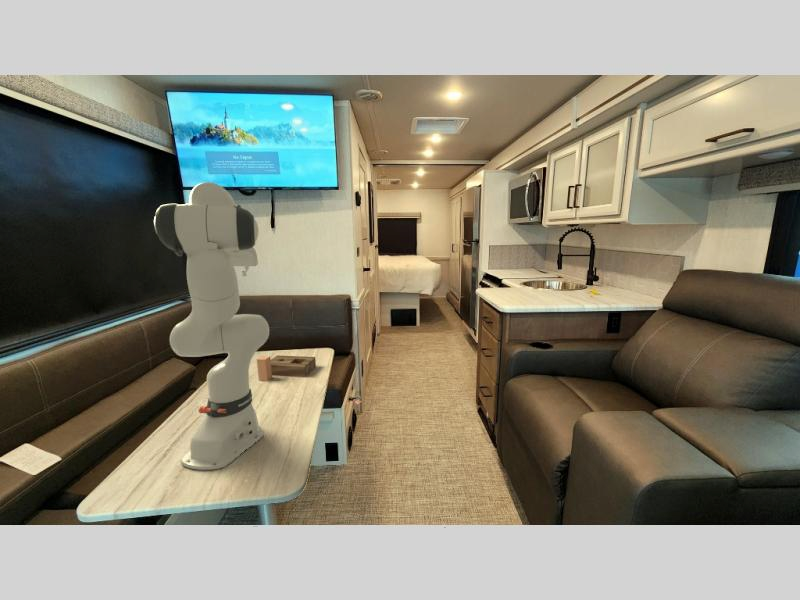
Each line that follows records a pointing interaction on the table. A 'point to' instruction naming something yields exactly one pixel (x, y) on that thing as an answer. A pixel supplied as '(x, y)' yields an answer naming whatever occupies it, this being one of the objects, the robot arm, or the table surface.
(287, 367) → the socket block
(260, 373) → the square peg
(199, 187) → the robot arm
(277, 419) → the table surface
